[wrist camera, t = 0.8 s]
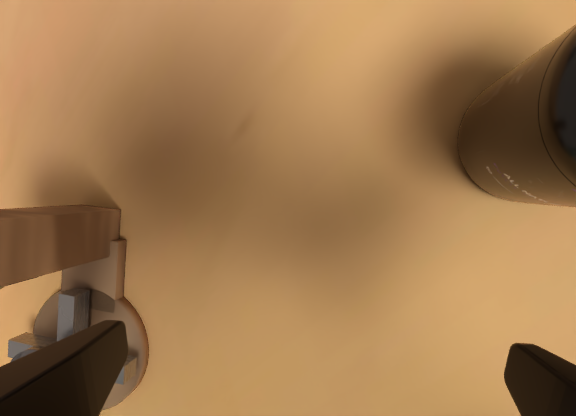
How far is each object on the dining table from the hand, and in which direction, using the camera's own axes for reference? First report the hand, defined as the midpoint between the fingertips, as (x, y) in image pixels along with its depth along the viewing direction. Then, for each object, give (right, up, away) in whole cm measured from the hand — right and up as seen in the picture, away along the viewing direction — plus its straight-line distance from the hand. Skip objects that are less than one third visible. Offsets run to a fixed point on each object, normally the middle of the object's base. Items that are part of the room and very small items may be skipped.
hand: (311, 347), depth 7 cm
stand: (-15, -4, +16) cm, 22 cm away
